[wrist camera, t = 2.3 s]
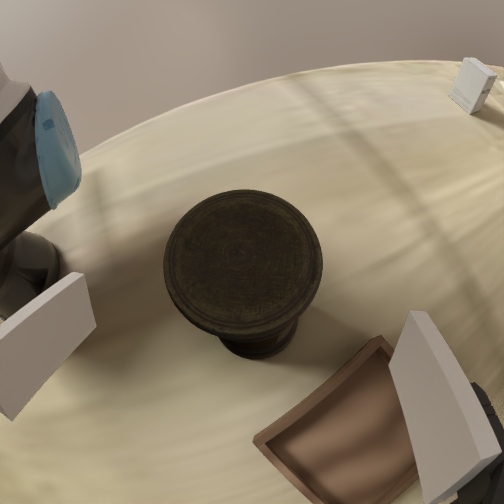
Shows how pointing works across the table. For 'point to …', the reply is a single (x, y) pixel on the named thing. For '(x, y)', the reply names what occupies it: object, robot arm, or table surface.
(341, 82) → the table surface
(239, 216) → the container
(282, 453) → the walnut tray
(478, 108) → the supplement box
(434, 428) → the robot arm
